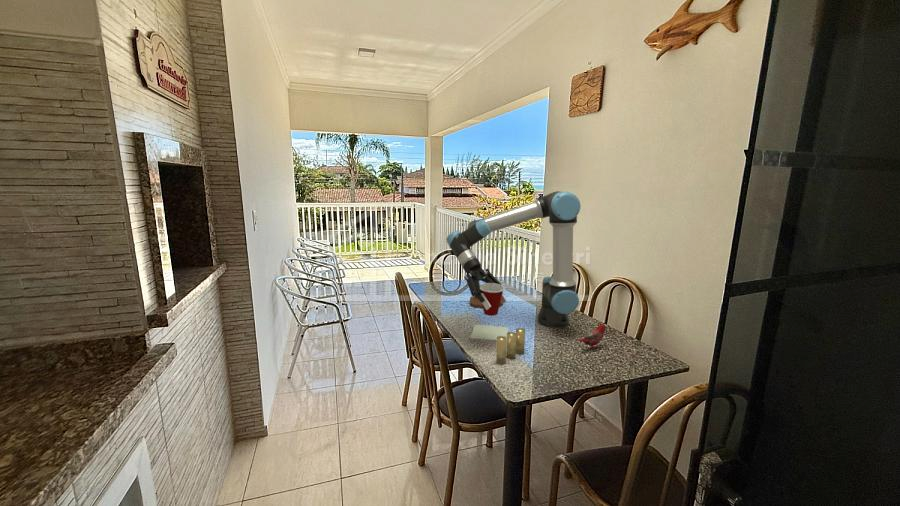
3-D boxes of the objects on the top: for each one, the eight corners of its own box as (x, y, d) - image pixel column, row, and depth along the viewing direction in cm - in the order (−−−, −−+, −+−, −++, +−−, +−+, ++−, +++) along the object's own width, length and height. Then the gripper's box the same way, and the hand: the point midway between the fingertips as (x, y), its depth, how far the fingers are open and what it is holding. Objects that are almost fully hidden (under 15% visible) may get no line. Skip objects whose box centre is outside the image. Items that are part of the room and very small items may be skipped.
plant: (504, 309, 204) (504, 290, 202) (469, 309, 205) (469, 289, 203) (502, 299, 223) (502, 281, 221) (470, 298, 225) (470, 280, 223)
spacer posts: (526, 352, 150) (527, 329, 149) (501, 365, 140) (502, 340, 138) (519, 349, 153) (519, 327, 151) (494, 362, 143) (494, 337, 141)
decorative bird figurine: (607, 346, 156) (609, 324, 154) (577, 355, 148) (578, 331, 146) (602, 343, 159) (603, 321, 157) (572, 352, 150) (573, 329, 149)
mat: (508, 328, 177) (508, 327, 177) (505, 341, 161) (505, 340, 161) (475, 325, 180) (475, 324, 180) (469, 338, 165) (469, 337, 165)
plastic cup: (487, 320, 148) (488, 291, 146) (473, 311, 158) (473, 284, 155) (509, 315, 153) (510, 287, 151) (494, 307, 163) (494, 281, 160)
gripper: (481, 263, 171) (508, 303, 163) (446, 271, 156) (474, 316, 147) (490, 253, 166) (518, 294, 158) (455, 261, 151) (484, 306, 143)
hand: (497, 305), depth 153 cm, fingers closed on plastic cup, 10 cm apart
